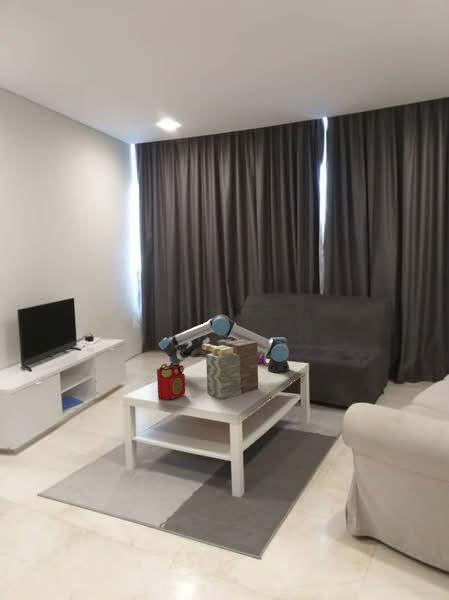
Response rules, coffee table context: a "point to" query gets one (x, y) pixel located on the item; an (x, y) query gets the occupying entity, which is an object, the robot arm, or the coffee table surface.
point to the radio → (170, 381)
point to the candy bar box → (261, 357)
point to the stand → (233, 370)
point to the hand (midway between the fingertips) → (200, 340)
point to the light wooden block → (218, 350)
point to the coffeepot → (223, 341)
